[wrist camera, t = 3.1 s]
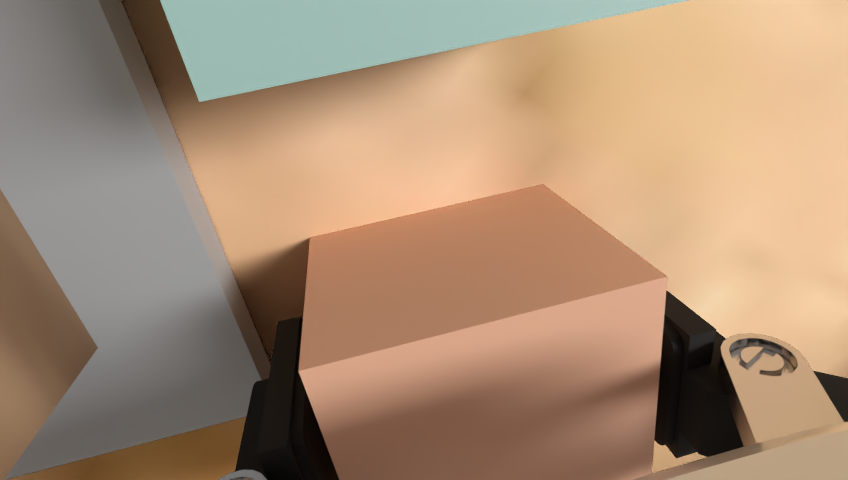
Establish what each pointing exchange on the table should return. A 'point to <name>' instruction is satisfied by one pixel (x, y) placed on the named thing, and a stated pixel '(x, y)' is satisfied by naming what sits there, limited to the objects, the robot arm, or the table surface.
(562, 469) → the salmon pink block
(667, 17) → the table surface
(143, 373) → the board
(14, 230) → the brick walnut base
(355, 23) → the brick teal
